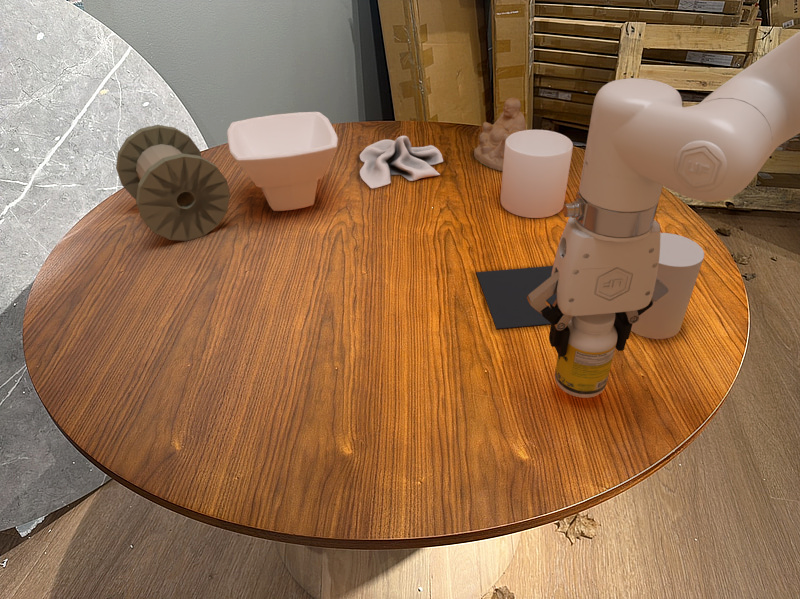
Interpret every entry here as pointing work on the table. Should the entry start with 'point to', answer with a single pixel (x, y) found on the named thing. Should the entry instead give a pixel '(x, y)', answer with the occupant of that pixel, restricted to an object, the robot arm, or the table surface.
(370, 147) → the cloth
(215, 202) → the spool
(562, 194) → the white cylinder
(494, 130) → the statue
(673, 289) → the grey upright cylinder
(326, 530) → the table surface
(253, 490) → the table surface
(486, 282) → the mat
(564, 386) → the pill bottle
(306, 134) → the bowl
